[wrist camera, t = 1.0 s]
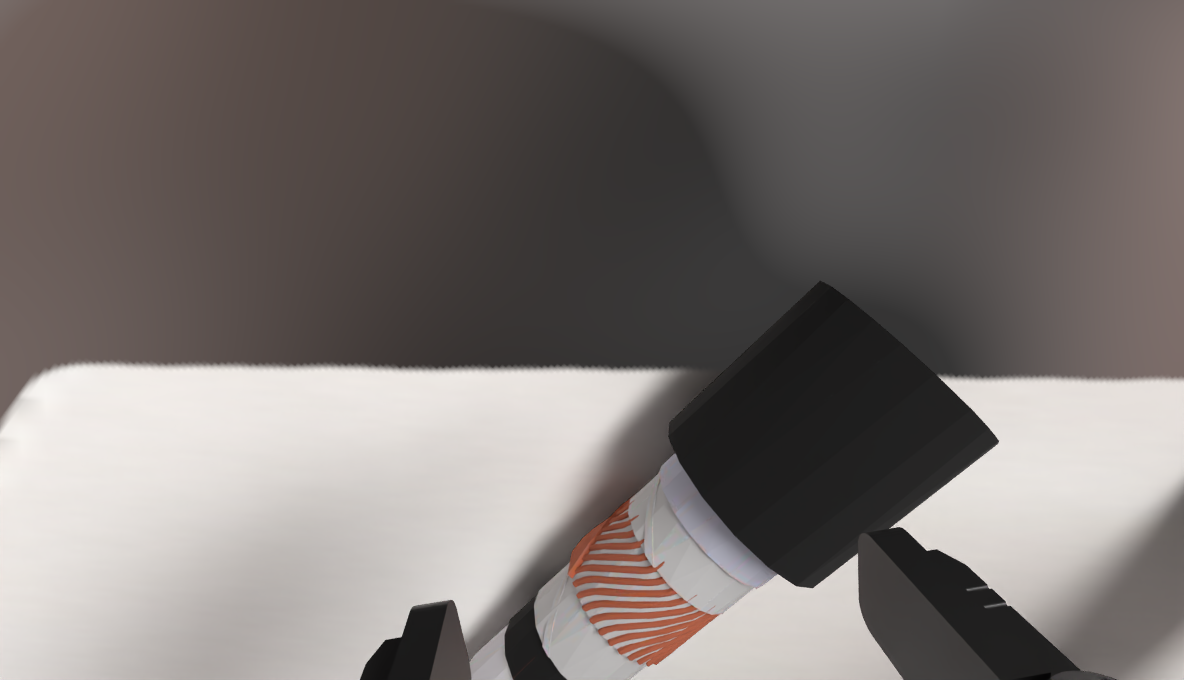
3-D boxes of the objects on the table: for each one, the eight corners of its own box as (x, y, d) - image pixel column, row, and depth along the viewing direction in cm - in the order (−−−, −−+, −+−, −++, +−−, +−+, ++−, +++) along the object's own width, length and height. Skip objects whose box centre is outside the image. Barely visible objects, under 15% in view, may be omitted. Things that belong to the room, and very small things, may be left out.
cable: (449, 635, 41) (342, 724, 32) (818, 289, 33) (822, 270, 23) (540, 762, 39) (453, 899, 29) (964, 424, 30) (1035, 465, 21)
